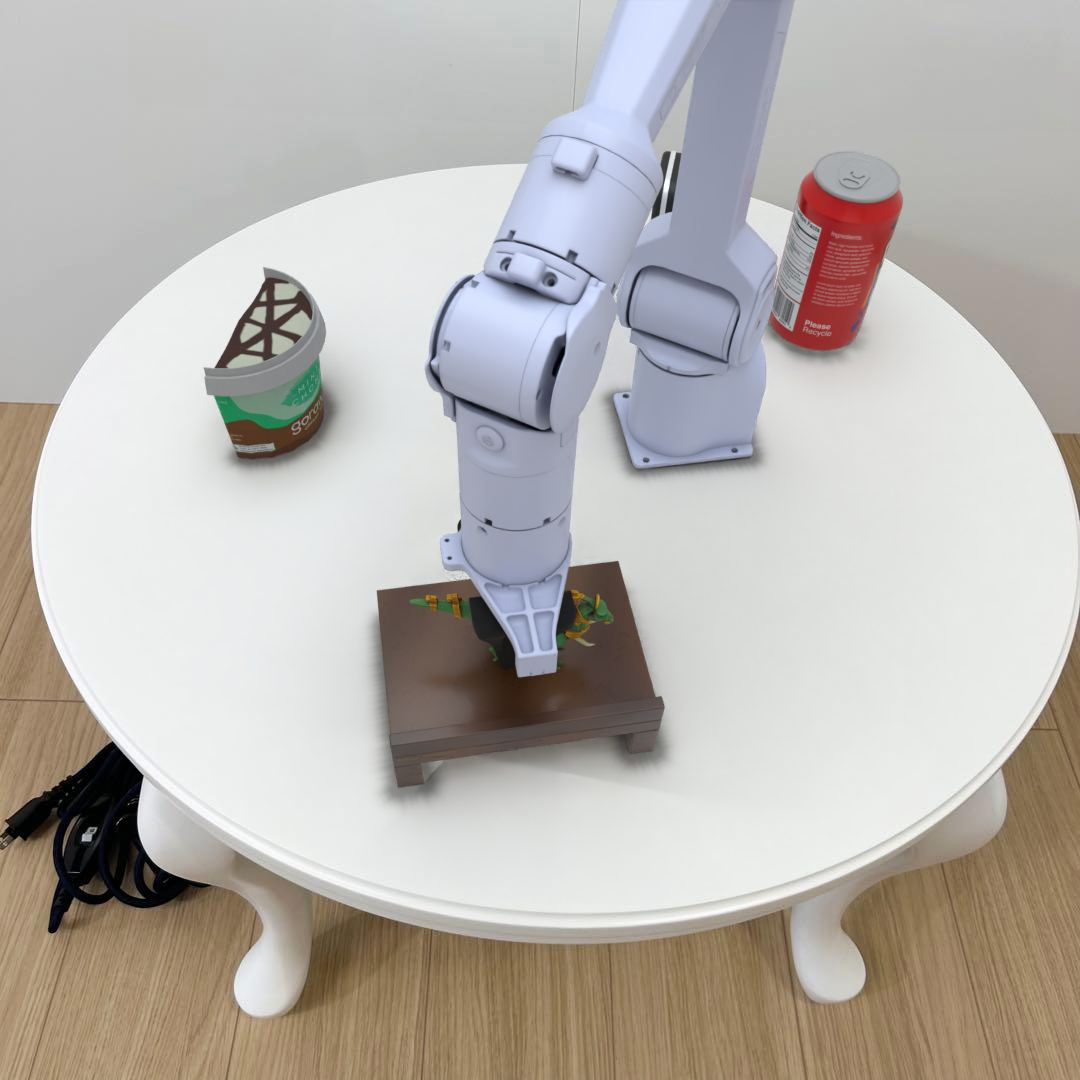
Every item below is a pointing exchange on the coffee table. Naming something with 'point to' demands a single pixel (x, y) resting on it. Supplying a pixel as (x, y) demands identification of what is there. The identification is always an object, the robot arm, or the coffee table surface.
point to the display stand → (509, 680)
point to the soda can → (835, 249)
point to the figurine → (579, 628)
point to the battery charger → (667, 183)
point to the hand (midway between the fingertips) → (513, 635)
